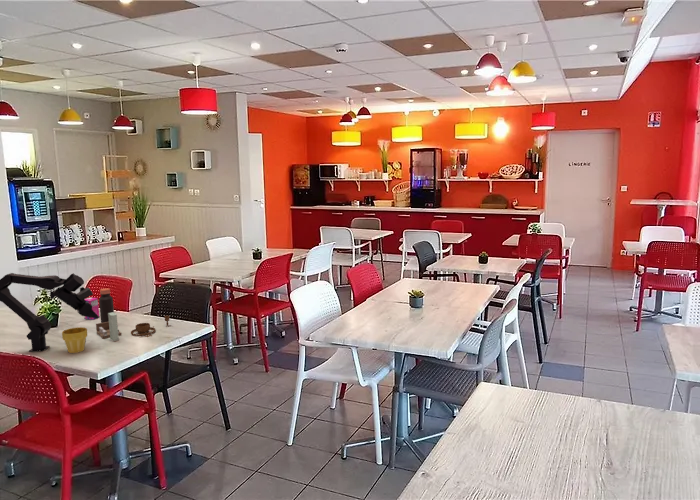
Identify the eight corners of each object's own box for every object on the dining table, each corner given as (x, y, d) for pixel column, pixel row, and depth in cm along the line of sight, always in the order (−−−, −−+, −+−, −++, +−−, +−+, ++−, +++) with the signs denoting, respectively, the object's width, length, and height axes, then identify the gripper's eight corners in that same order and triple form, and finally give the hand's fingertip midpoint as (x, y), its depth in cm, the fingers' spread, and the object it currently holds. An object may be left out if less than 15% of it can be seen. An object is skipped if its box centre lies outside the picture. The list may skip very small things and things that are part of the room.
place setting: (130, 330, 273) (129, 319, 273) (169, 325, 282) (169, 314, 281) (131, 340, 258) (130, 328, 257) (173, 334, 266) (173, 323, 265)
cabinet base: (121, 335, 264) (120, 325, 263) (102, 338, 259) (101, 329, 258) (115, 329, 274) (114, 320, 273) (96, 333, 268) (95, 323, 267)
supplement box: (83, 319, 294) (81, 299, 292) (91, 316, 299) (90, 297, 298) (92, 320, 292) (90, 300, 290) (99, 317, 298) (98, 297, 296)
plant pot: (92, 350, 242) (90, 329, 241) (69, 356, 235) (66, 335, 233) (83, 345, 249) (81, 325, 248) (60, 351, 242) (58, 330, 240)
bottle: (100, 325, 282) (96, 289, 279) (113, 322, 286) (110, 287, 283) (102, 327, 277) (99, 291, 274) (116, 325, 281) (113, 289, 278)
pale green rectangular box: (118, 340, 256) (116, 314, 254) (113, 341, 255) (111, 315, 253) (115, 337, 261) (113, 312, 259) (110, 338, 259) (108, 313, 257)
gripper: (85, 286, 238) (112, 305, 247) (76, 280, 253) (102, 298, 261) (67, 306, 235) (95, 325, 243) (59, 298, 249) (86, 316, 258)
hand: (95, 315), depth 251 cm, fingers open, 9 cm apart
